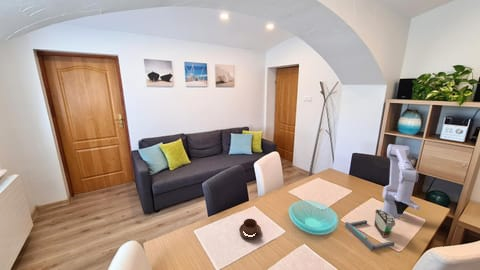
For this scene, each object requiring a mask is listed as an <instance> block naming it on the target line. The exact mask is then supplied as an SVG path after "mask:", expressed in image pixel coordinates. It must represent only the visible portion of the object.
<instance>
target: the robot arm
mask: <svg viewBox="0 0 480 270" xmlns="http://www.w3.org/2000/svg"><path fill="white" fill-rule="evenodd" d="M410 152H411V149H410V146H409V145H401V144H392V143H389V144H388V146H387V149H386V157H387V158H388V159H389V162H390V163H389V164H390V166H389V180H388V181H389V183H388V185H385V186H384V187H383V188H382V189H383V190H382V198H383V200H384V201H383V205H382V206H383V207H382V209H379V210H381V211H384V212H386V213H388V214H390V215H391V216H392V217H393V218H394V219H395V218H399V217H403V215H404V214H403V213H404V212H405V211H406V210H407V209H408V208H409V207H410V208H413V210H415V211H419V210H420V205H418V204H416V203H415V202H414V201H412V199H411V198H412V195H413V191H414V186H415V184H416V183H418V181H419V172H418V170H416V169H415V168H414V167H413V163H412V162H411V161H410V160H409V159H408V156H409V154H410Z"/></svg>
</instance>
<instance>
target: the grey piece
mask: <svg viewBox="0 0 480 270" xmlns="http://www.w3.org/2000/svg"><path fill="white" fill-rule="evenodd" d="M367 224H368V220H367V219H364V220H358V221H353V222H349V221H346V222H345V224H344V225H345V226H344V228H346V229H347V230H348V231H349V232H350V233H351V234H352V235H353V236H355V238H356V239H357V240H359V241H360V243H361V244H363V245H364V246H365V247H366V248H367V249H368V250H369V251H370V252H373V251H378V250H382V249H386V248H389V247H394V246H395V241H394V240H391V241H387V242H382V243H378V244H374V243H373V242H371V241H370V240H369V239H368V238H367V237H366V235H365V234H363V233H362V232H361V231H359V229H357V228H356V227H358V226H363V225H367Z"/></svg>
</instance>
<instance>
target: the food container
mask: <svg viewBox="0 0 480 270" xmlns="http://www.w3.org/2000/svg"><path fill="white" fill-rule="evenodd" d="M373 225H374V228H375V229H376V230H377V232H378V234H379V235H380V236H381V238H382V239H387V238H389V237H390V235H391V232H392V229H393V227H395V226H396V220H395V218H393V217H392V216H391V215H390V214H388V213H386V212H384V211H381V210H380V209H375V217H374V223H373Z"/></svg>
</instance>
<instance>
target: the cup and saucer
mask: <svg viewBox="0 0 480 270" xmlns="http://www.w3.org/2000/svg"><path fill="white" fill-rule="evenodd" d="M243 231H244V232H245V233H246V234H248V235H253V234H255V233H256V234H255V236H253V237H248V236H245V235H244V233H243ZM261 233H262V228H261V226H260V225H259V224H258V222H257V221H256V220H255V219H254V218H247V219H245V220H244V221H243V223H242V224H241V225H240V227H239V234H240V235H241V236H242V237H243V238H246V239H250V240H252V239H256V238H258V237H259V236H260V235H261Z"/></svg>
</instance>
